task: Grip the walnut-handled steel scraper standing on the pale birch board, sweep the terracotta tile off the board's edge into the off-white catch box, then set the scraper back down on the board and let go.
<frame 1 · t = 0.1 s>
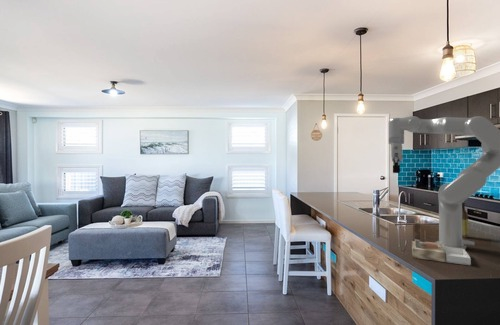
hand: (396, 172, 152), 37 cm above the worktop, tool pointing down, fingers open, 9 cm apart
catch box: (455, 258, 122), on the worktop
scraper: (417, 245, 129), point 4 cm above the worktop, touching board
sauce bottle: (461, 237, 158), on the worktop
tile: (431, 246, 127), point 4 cm above the worktop, touching board
board: (427, 255, 127), on the worktop
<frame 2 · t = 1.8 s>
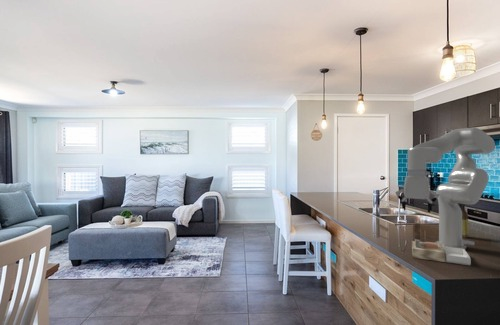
hand: (416, 211, 129), 20 cm above the worktop, tool pointing down, fingers open, 9 cm apart
nothing on the worktop moved.
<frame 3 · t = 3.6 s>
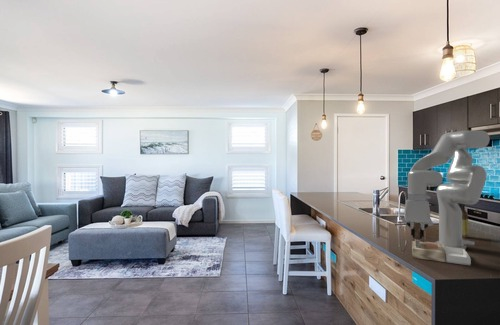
hand: (417, 237, 129), 8 cm above the worktop, tool pointing down, fingers closed on scraper, 2 cm apart
scraper: (417, 245, 129), point 4 cm above the worktop, touching gripper
everything else where it was.
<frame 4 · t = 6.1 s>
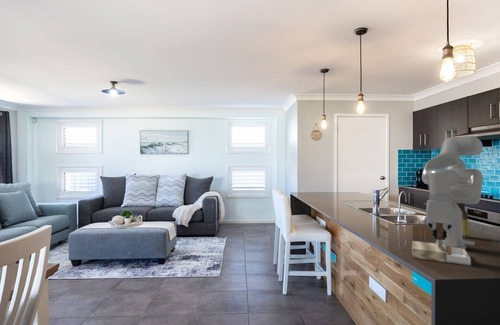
hand: (439, 238, 125), 8 cm above the worktop, tool pointing down, fingers closed on scraper, 2 cm apart
scraper: (439, 245, 125), point 5 cm above the worktop, touching gripper
tile: (446, 251, 124), point 3 cm above the worktop, tilted 91°, touching catch box
everything else where it was.
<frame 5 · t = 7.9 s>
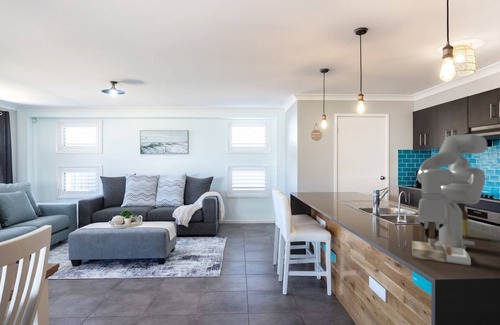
hand: (431, 237, 126), 8 cm above the worktop, tool pointing down, fingers closed on scraper, 2 cm apart
scraper: (431, 244, 126), point 5 cm above the worktop, touching gripper
everything else where it was.
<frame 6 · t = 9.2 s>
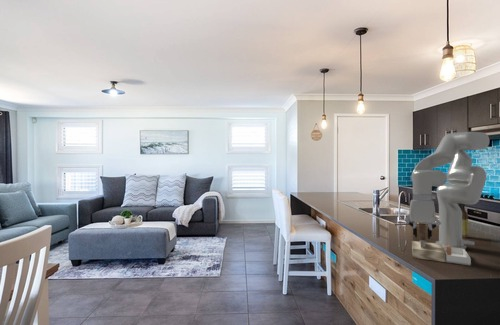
hand: (422, 237, 128), 8 cm above the worktop, tool pointing down, fingers open, 4 cm apart
scraper: (422, 245, 128), point 4 cm above the worktop, touching board
everything else where it was.
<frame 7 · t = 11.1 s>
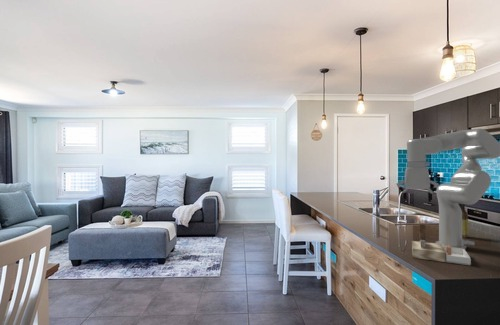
hand: (417, 201, 133), 24 cm above the worktop, tool pointing down, fingers open, 9 cm apart
nothing on the worktop moved.
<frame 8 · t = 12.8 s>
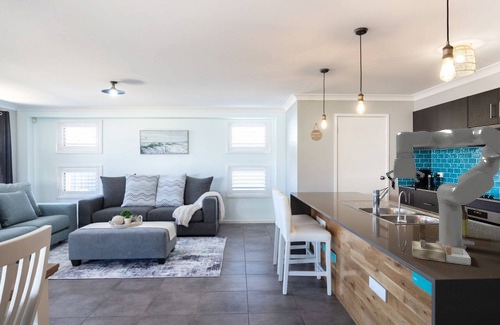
hand: (404, 189, 143), 28 cm above the worktop, tool pointing down, fingers open, 9 cm apart
nothing on the worktop moved.
at the end: tile inside the target area on the catch box (3.3 cm from its centre), point 2.8 cm above the catch box's base; scraper inside the target area (1.5 cm from its centre), point 4.0 cm above the worktop; the gripper is holding nothing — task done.
